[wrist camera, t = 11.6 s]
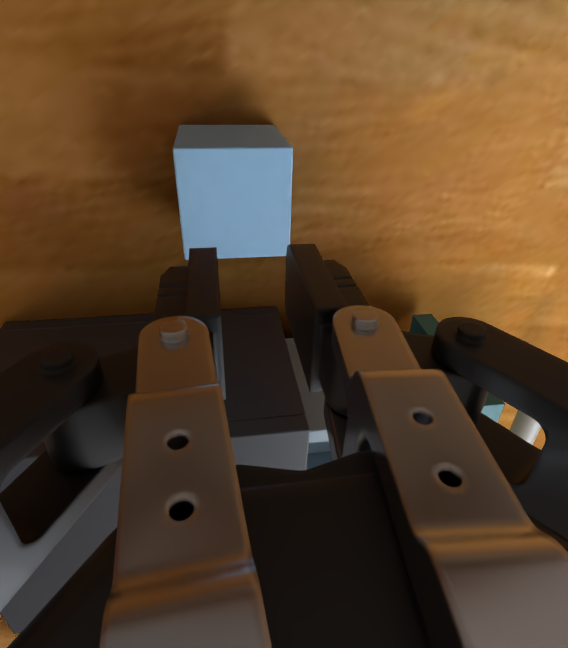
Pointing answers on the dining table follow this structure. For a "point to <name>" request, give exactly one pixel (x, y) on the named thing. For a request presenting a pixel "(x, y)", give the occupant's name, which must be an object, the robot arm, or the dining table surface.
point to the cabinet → (240, 405)
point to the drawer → (315, 400)
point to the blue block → (234, 189)
